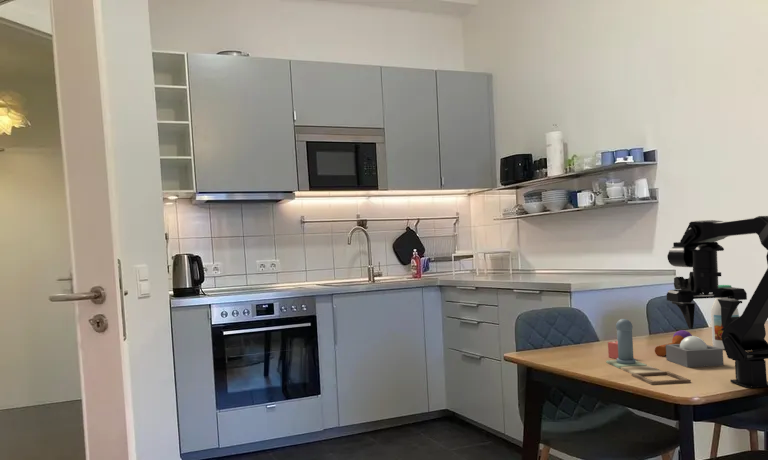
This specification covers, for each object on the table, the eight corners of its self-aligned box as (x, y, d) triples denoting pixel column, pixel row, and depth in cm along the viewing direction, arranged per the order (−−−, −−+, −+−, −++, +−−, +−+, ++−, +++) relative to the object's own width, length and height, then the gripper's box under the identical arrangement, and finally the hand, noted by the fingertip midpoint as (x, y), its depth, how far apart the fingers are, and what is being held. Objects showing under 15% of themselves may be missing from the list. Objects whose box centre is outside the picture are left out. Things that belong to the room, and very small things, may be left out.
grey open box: (723, 365, 158) (722, 349, 158) (687, 367, 157) (686, 350, 157) (700, 358, 168) (699, 342, 168) (666, 360, 168) (665, 344, 168)
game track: (690, 382, 141) (690, 379, 141) (651, 384, 140) (651, 382, 140) (636, 361, 168) (636, 358, 168) (603, 362, 167) (602, 360, 167)
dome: (714, 362, 159) (712, 337, 160) (689, 363, 159) (688, 338, 159) (698, 357, 167) (697, 333, 167) (674, 358, 166) (673, 334, 166)
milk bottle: (707, 347, 184) (703, 285, 185) (724, 345, 187) (721, 283, 188) (729, 351, 177) (725, 286, 178) (746, 348, 180) (743, 285, 180)
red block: (631, 357, 173) (630, 342, 173) (620, 359, 171) (619, 343, 171) (619, 355, 177) (618, 340, 177) (608, 357, 175) (607, 341, 175)
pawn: (635, 364, 160) (633, 320, 161) (616, 363, 162) (613, 319, 163) (635, 361, 165) (633, 317, 165) (617, 360, 167) (614, 317, 167)
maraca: (648, 342, 176) (675, 329, 189) (653, 361, 176) (680, 347, 189) (667, 340, 172) (693, 327, 185) (672, 360, 171) (698, 345, 184)
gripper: (718, 265, 158) (720, 321, 158) (654, 268, 157) (656, 324, 156) (747, 267, 147) (749, 328, 147) (678, 270, 146) (680, 331, 145)
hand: (707, 327), depth 149 cm, fingers open, 9 cm apart
